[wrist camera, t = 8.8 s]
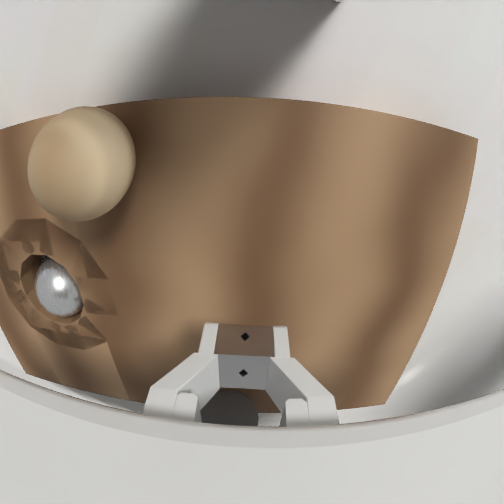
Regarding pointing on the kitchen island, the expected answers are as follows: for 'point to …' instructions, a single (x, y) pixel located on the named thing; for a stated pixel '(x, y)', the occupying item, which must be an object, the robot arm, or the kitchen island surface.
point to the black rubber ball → (230, 409)
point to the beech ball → (81, 164)
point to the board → (242, 243)
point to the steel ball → (57, 289)
